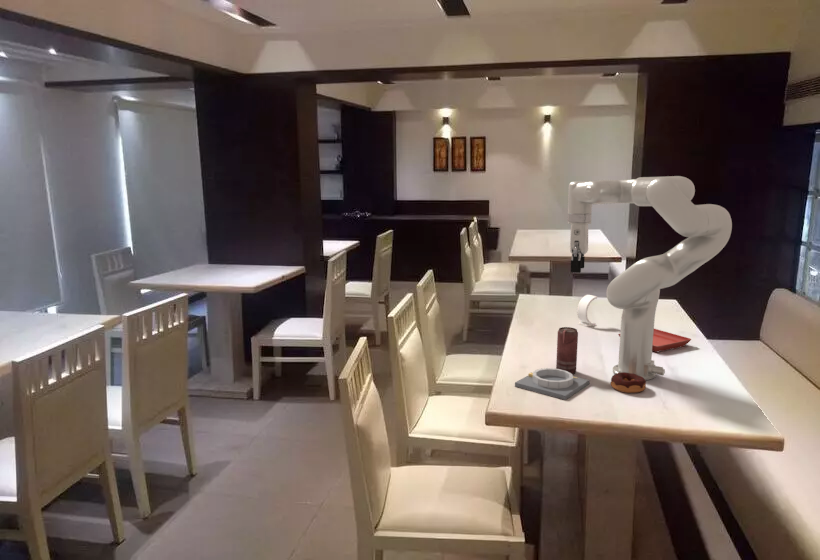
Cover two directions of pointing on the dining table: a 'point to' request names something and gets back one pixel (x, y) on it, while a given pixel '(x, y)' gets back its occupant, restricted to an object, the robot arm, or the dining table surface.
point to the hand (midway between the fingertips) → (577, 270)
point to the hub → (552, 382)
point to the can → (567, 349)
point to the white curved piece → (585, 310)
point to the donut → (628, 382)
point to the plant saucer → (667, 341)
